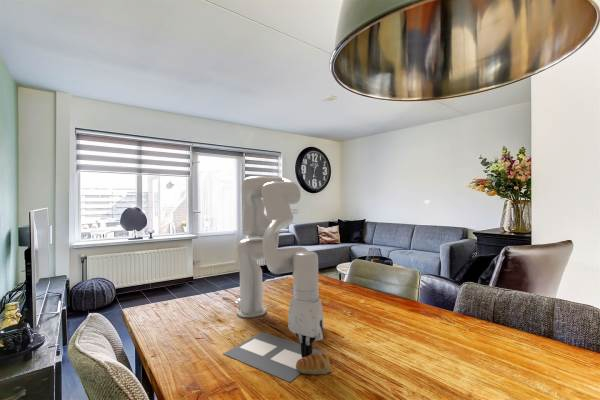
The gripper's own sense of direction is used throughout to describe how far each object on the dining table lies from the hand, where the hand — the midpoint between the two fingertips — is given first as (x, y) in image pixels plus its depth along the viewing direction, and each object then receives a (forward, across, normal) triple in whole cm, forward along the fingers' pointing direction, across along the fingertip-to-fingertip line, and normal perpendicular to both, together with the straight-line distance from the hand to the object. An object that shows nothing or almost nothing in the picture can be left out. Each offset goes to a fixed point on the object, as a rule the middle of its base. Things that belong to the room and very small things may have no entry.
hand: (306, 355), depth 86 cm
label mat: (+2, -11, -2) cm, 11 cm away
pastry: (+2, +4, -2) cm, 5 cm away
